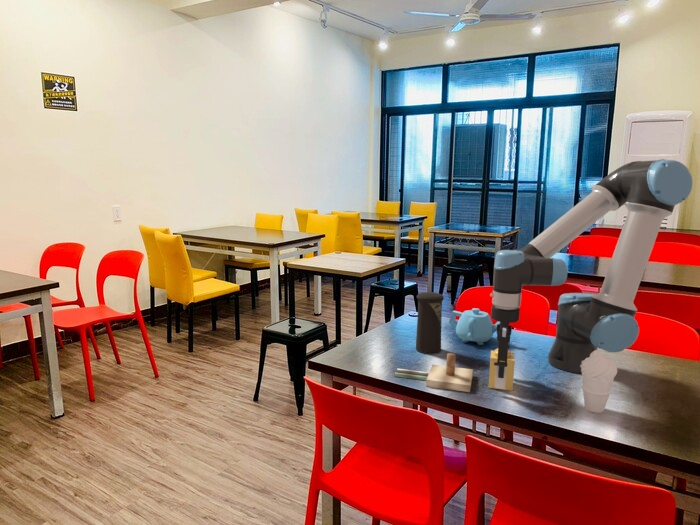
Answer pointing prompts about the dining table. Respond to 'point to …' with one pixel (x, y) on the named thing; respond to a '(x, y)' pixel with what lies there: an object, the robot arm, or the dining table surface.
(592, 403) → the soft serve ice cream cone
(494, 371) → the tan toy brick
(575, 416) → the dining table surface
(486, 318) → the teapot
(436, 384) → the block
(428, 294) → the container
